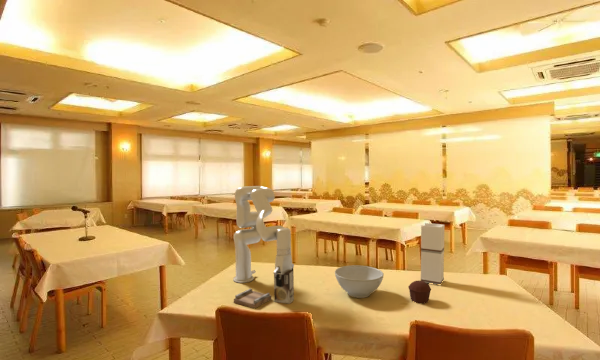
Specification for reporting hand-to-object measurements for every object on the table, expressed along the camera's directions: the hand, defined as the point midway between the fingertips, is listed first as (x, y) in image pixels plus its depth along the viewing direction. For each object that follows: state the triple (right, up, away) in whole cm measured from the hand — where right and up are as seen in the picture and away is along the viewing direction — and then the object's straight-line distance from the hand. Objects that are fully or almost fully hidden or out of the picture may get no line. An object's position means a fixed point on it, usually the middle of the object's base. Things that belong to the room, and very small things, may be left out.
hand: (284, 283), depth 178 cm
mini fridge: (+90, -8, +29) cm, 95 cm away
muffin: (+72, -9, 0) cm, 72 cm away
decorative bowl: (+41, -9, +10) cm, 43 cm away
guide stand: (-17, -9, 0) cm, 19 cm away
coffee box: (0, -9, +1) cm, 10 cm away
